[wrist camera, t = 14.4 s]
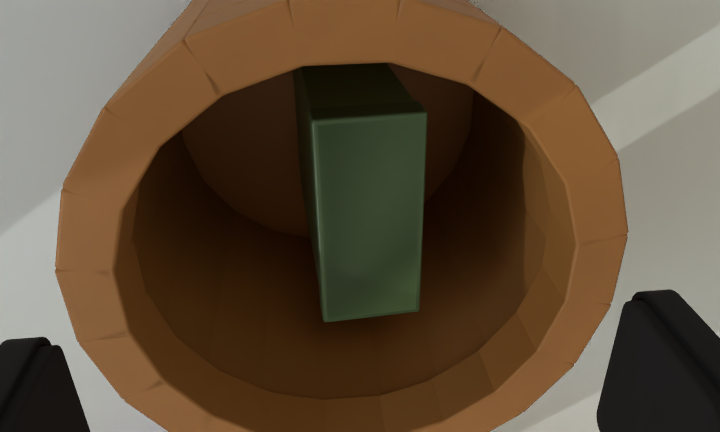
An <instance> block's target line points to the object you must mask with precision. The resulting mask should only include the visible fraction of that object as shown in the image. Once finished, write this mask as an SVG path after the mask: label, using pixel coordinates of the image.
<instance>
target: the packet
mask: <svg viewBox="0 0 720 432" xmlns="http://www.w3.org/2000/svg"><path fill="white" fill-rule="evenodd" d="M293 77H294V91H295V105H296V119H297V133H298V147H299V161H300V175H301V187H302V193H303V198H304V204H305V210H306V215H307V221H308V227H309V233H310V238H311V244H312V250H313V256H314V261H315V267H316V273H317V278H318V284H319V296H320V308H321V313H322V319H323V321H324V322H334V321H342V320H351V319H359V318H368V317H376V316H385V315H394V314H402V313H411V312H418V311H419V309H420V288H421V264H422V241H423V217H424V194H425V170H426V147H427V123H428V113H427V111H426V109H425V108H424V107H423V106H422V104H421V103H420V102H419V101H415V100H414V99H413V98H412V96H411V95H410V94H409V92H408V91H407V90H406V88H405V87H404V86H403V84H402V83H401V82H400V80H399V79H398V78H397V76H396V75H395V74H394V72H393V71H392V70H391V68H390V67H389V66H388V64H387V63H366V64H342V65H317V66H302V67H299V68H297V69H294V70H293Z"/></svg>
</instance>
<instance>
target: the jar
mask: <svg viewBox="0 0 720 432" xmlns="http://www.w3.org/2000/svg"><path fill="white" fill-rule="evenodd" d="M366 63H387V64H388V66H389V67H390V68H391V70H392V71H393V72H394V74H395V75H396V76H397V78H398V79H399V80H400V82H401V83H402V84H403V86H404V87H405V88H406V90H407V91H408V92H409V94H410V95H411V96H412V98H413V99H414V100H415V101H419V102H420V103H421V104H422V106H423V107H424V108H425V109H426V111H427V113H428V123H427V147H426V170H425V194H424V217H423V241H422V264H421V288H420V309H419V311H418V312H411V313H402V314H394V315H385V316H376V317H368V318H359V319H351V320H342V321H334V322H324V321H323V319H322V313H321V308H320V296H319V284H318V278H317V273H316V267H315V261H314V256H313V250H312V244H311V238H310V233H309V227H308V221H307V215H306V210H305V204H304V198H303V193H302V187H301V175H300V161H299V147H298V133H297V119H296V105H295V91H294V77H293V70H294V69H297V68H299V67H302V66H317V65H342V64H366ZM627 233H628V225H627V218H626V210H625V202H624V194H623V187H622V179H621V171H620V163H619V160H618V156H617V153H616V151H615V150H614V148H613V146H612V144H611V143H610V141H609V139H608V137H607V136H606V134H605V132H604V130H603V129H602V127H601V125H600V123H599V122H598V120H597V118H596V116H595V115H594V113H593V111H592V110H591V108H590V106H589V104H588V103H587V101H586V99H585V97H584V96H583V94H582V92H581V90H580V89H579V87H578V86H576V85H575V83H574V82H573V81H572V80H571V79H569V78H568V77H567V76H566V75H564V74H563V73H562V72H561V71H559V70H558V69H557V68H555V67H554V66H553V65H552V64H550V63H549V62H548V61H547V60H545V59H544V58H543V57H541V56H540V55H539V54H538V53H536V52H535V51H534V50H532V49H531V48H530V47H529V46H527V45H526V44H525V43H524V42H522V41H521V40H520V39H518V38H517V37H516V36H515V35H513V34H512V33H511V32H510V31H508V30H507V29H506V28H504V27H503V26H502V25H500V24H499V23H497V22H496V21H495V20H493V19H492V18H491V17H489V16H488V15H486V14H485V13H484V12H482V11H481V10H480V9H478V8H477V7H476V6H474V5H473V4H471V3H470V2H469V1H467V0H192V2H191V3H190V4H189V5H188V6H187V8H186V9H185V10H184V11H183V12H182V14H181V15H180V16H179V17H178V18H177V20H176V21H175V22H174V23H173V24H172V26H171V27H170V28H169V29H168V30H167V32H166V33H165V34H164V35H163V36H162V37H161V39H160V40H159V41H158V42H157V43H156V45H155V46H154V47H153V48H152V49H151V51H150V52H149V53H148V54H147V55H146V57H145V58H144V59H143V60H142V61H141V63H140V64H139V65H138V66H137V67H136V69H135V70H134V71H133V72H132V73H131V75H130V76H129V77H128V78H127V80H126V81H125V82H124V83H123V84H122V86H121V87H120V88H119V89H118V90H117V92H116V93H115V94H114V95H113V96H112V98H111V99H110V100H109V101H108V102H107V104H106V105H105V106H104V107H103V109H102V110H101V112H100V114H99V116H98V118H97V120H96V122H95V124H94V125H93V127H92V129H91V131H90V133H89V135H88V137H87V139H86V141H85V143H84V145H83V147H82V148H81V150H80V152H79V154H78V156H77V158H76V160H75V162H74V164H73V166H72V168H71V169H70V171H69V173H68V175H67V177H66V179H65V181H64V183H63V189H62V190H61V200H60V212H59V225H58V237H57V249H56V262H55V267H56V270H55V274H56V277H57V280H58V283H59V286H60V289H61V292H62V295H63V298H64V301H65V304H66V307H67V311H68V314H69V317H70V320H71V323H72V326H73V329H74V332H75V335H76V338H77V341H78V342H79V344H80V346H81V347H82V348H83V350H84V351H85V352H86V353H87V355H88V356H89V357H90V358H91V360H92V361H93V362H94V364H95V365H96V366H97V367H98V369H99V370H100V371H101V372H102V374H103V375H104V376H105V378H106V379H107V380H108V381H109V383H110V384H111V385H112V386H113V388H114V389H115V390H116V392H117V393H118V394H119V395H120V397H121V398H122V399H124V400H125V402H127V403H128V404H129V405H131V406H132V407H134V408H135V409H137V410H138V411H140V412H141V413H142V414H144V415H145V416H147V417H148V418H150V419H151V420H153V421H154V422H156V423H157V424H158V425H160V426H161V427H163V428H164V429H166V430H167V431H169V432H489V431H491V430H493V429H495V428H496V427H498V426H500V425H502V424H504V423H505V422H507V421H509V420H511V419H513V418H514V417H516V416H518V415H520V414H521V413H522V412H524V411H525V410H526V409H528V408H529V407H530V406H531V405H532V404H533V403H534V402H535V401H536V400H537V399H538V398H539V397H540V396H542V395H543V394H544V393H545V392H546V391H547V390H548V389H549V388H550V387H551V386H552V385H553V384H555V383H556V382H557V381H558V380H559V379H560V378H561V377H562V376H563V375H564V374H565V373H566V372H567V371H569V370H570V369H571V368H572V367H573V366H574V363H576V361H577V360H578V358H579V357H580V355H581V353H582V352H583V350H584V348H585V347H586V345H587V344H588V342H589V340H590V339H591V337H592V336H593V334H594V332H595V331H596V329H597V327H598V326H599V324H600V323H601V321H602V319H603V318H604V316H605V314H606V313H607V311H608V310H609V308H610V306H611V304H610V303H611V302H612V300H613V296H614V291H615V287H616V283H617V279H618V275H619V271H620V266H621V262H622V258H623V254H624V250H625V246H626V241H627Z"/></svg>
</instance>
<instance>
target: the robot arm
mask: <svg viewBox="0 0 720 432" xmlns="http://www.w3.org/2000/svg"><path fill="white" fill-rule="evenodd" d="M597 423H598V427H599V430H600V432H720V338H719V337H718V336H717V335H716V334H715V333H714V331H713V330H712V329H711V328H710V327H709V326H708V325H707V324H706V323H705V322H704V321H703V320H702V319H701V318H700V316H699V315H698V314H697V313H696V312H695V311H694V310H693V309H692V308H691V307H690V306H689V305H688V304H687V303H686V301H685V300H684V299H683V298H682V297H681V296H680V295H679V294H678V293H676V292H675V291H673V290H656V291H643V292H637V293H636V294H635V295H634V296H633V298H632V300H631V301H628V302H626V303H625V304H624V306H623V309H622V313H621V317H620V321H619V325H618V329H617V333H616V337H615V341H614V345H613V349H612V353H611V357H610V361H609V365H608V369H607V373H606V377H605V381H604V385H603V389H602V393H601V397H600V401H599V405H598V409H597ZM0 432H90V429H89V426H88V424H87V421H86V418H85V415H84V412H83V409H82V406H81V403H80V400H79V397H78V394H77V391H76V388H75V385H74V382H73V380H72V377H71V374H70V371H69V368H68V365H67V362H66V359H65V356H64V353H63V351H62V349H61V347H60V346H58V345H53V346H52V345H51V343H50V341H49V340H48V339H47V338H45V337H37V338H24V339H10V340H6V341H4V342H2V344H1V345H0Z"/></svg>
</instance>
